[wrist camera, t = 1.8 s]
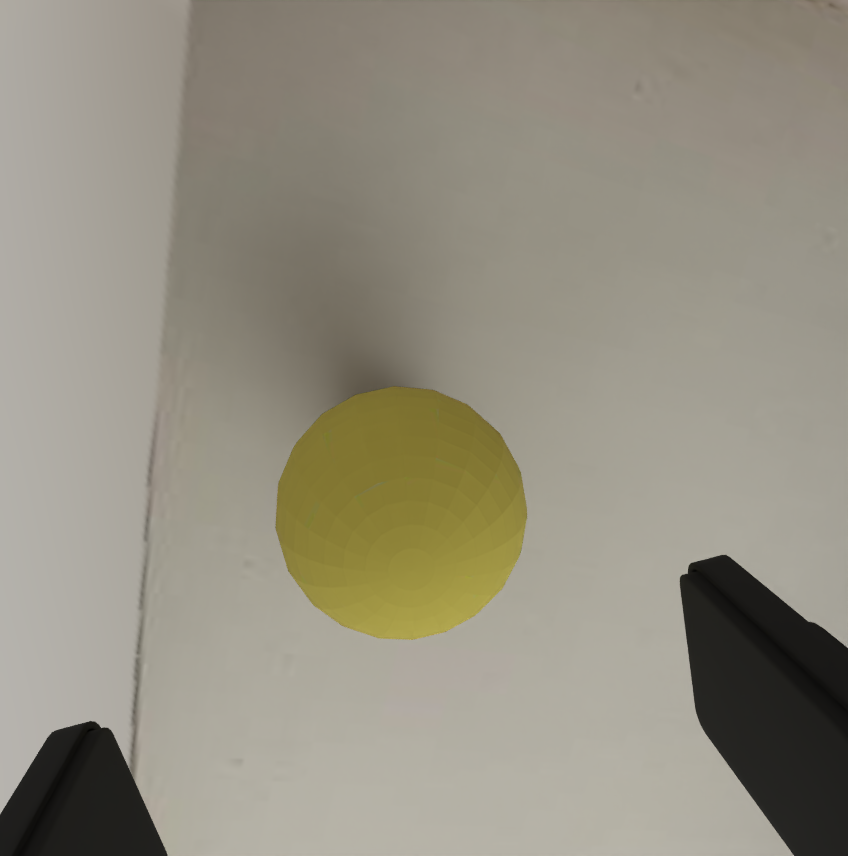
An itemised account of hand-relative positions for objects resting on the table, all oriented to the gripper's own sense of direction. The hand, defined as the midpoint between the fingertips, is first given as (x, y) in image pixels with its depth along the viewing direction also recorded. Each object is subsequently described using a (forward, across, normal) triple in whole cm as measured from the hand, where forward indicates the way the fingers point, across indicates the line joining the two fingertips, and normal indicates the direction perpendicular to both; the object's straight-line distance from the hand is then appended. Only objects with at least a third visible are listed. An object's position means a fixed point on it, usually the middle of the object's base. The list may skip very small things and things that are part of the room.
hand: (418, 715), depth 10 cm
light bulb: (+14, 0, 0) cm, 14 cm away
